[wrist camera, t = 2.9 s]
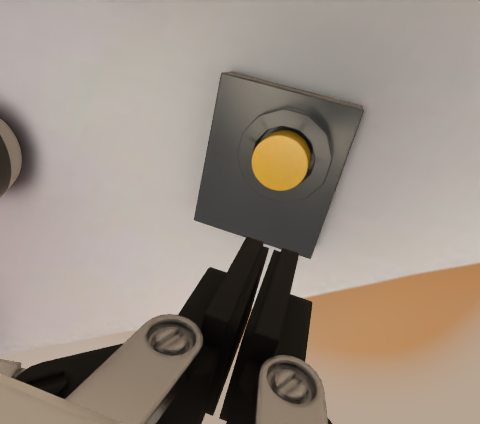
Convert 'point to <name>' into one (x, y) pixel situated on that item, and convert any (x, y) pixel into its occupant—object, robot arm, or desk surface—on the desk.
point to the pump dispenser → (8, 157)
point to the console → (240, 161)
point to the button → (281, 160)
